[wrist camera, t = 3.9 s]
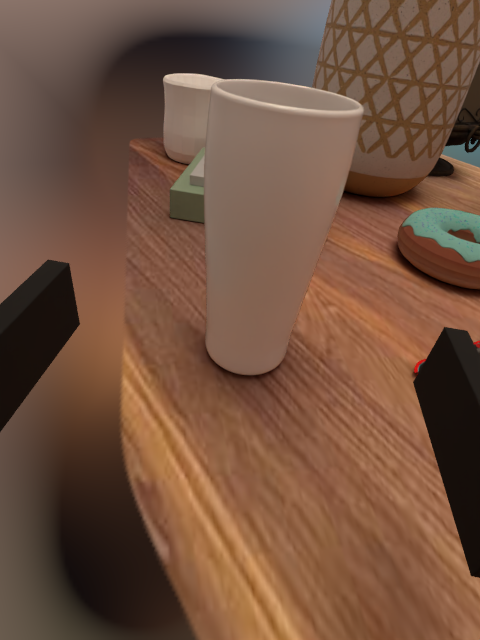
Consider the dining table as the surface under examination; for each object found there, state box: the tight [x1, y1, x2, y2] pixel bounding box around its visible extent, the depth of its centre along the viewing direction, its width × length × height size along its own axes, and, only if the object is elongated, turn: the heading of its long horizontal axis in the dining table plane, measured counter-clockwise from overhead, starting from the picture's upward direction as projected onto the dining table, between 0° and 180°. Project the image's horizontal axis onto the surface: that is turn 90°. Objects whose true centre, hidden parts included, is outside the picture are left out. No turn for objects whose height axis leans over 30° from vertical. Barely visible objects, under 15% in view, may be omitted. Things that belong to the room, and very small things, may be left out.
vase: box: [312, 0, 480, 197], centre depth 45 cm, size 19×18×38 cm
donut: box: [398, 208, 480, 289], centre depth 38 cm, size 12×12×4 cm
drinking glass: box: [204, 79, 364, 375], centre depth 21 cm, size 7×7×15 cm
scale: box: [170, 147, 205, 223], centre depth 45 cm, size 16×16×4 cm
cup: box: [163, 74, 224, 164], centre depth 55 cm, size 10×10×10 cm
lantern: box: [428, 62, 480, 176], centre depth 60 cm, size 18×15×30 cm
